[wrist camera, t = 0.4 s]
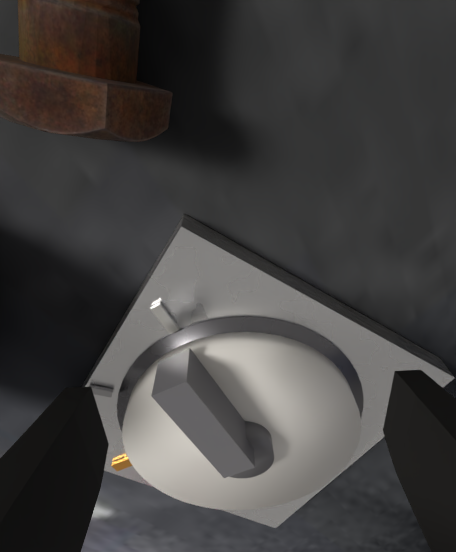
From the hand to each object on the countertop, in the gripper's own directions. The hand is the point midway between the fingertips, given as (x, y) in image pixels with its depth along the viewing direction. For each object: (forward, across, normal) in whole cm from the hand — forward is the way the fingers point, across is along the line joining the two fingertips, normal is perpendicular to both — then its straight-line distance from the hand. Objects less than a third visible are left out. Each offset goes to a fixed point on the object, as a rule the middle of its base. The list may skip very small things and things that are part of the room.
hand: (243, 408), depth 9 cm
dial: (+8, 0, +9) cm, 12 cm away
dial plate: (+10, 0, +9) cm, 13 cm away
